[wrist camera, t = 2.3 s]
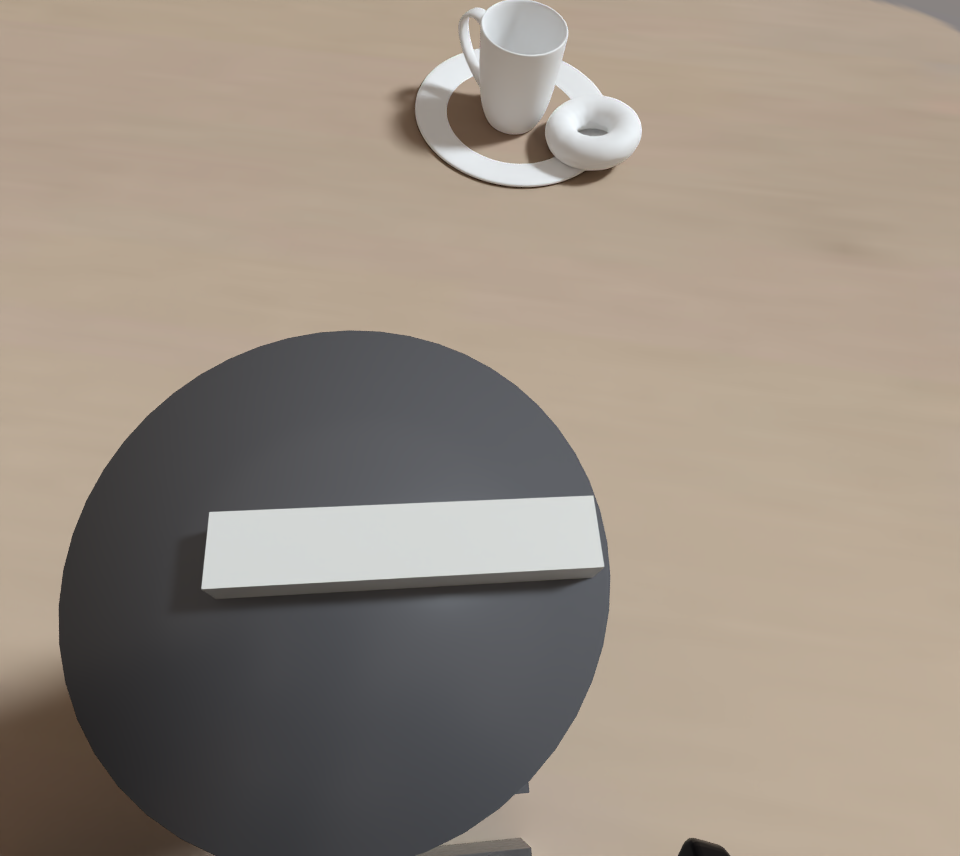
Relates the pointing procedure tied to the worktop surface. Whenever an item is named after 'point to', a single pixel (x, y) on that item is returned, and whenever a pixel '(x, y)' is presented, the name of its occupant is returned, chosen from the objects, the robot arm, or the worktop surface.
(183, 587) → the knob
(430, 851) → the plate
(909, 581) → the worktop surface
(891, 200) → the worktop surface
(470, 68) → the teacup and saucer
